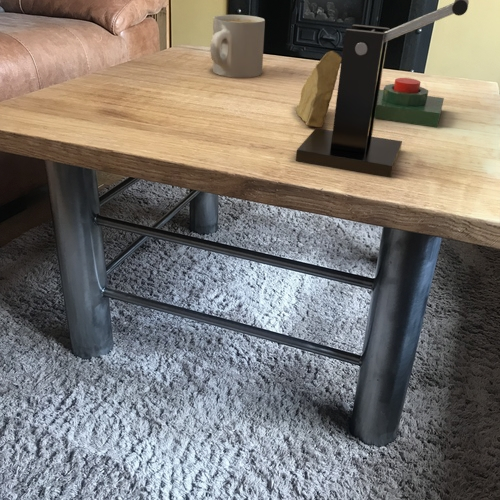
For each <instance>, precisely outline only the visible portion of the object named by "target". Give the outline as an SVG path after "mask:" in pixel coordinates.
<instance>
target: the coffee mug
mask: <svg viewBox="0 0 500 500" xmlns="http://www.w3.org/2000/svg"><path fill="white" fill-rule="evenodd" d="M212 19H213V20H212V21H213V22H212V23H213V24H212V36H211V40H210V48H209V49H210V50H209V51H210V57H211V60H212V72H213V73H214V74H216V75H218V76H223V77H226V78H227V77H228V78H236V79H237V78H240V79H241V78H245V79H246V78H254V77H260V76H261V75H262V74H263V64H264V45H265V27H266V26H265V25H266V20H265V18H263V17H259V16H255V15H245V14H220V15H215V16H213V18H212Z"/></svg>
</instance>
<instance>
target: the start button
mask: <svg viewBox="0 0 500 500" xmlns="http://www.w3.org/2000/svg"><path fill="white" fill-rule="evenodd" d="M393 84H394V90H396V91H399V92H406V93H418V92H419V88H420V87H421V80H418V79H415V78H411V77H398V78H395V79H394V83H393Z"/></svg>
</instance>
